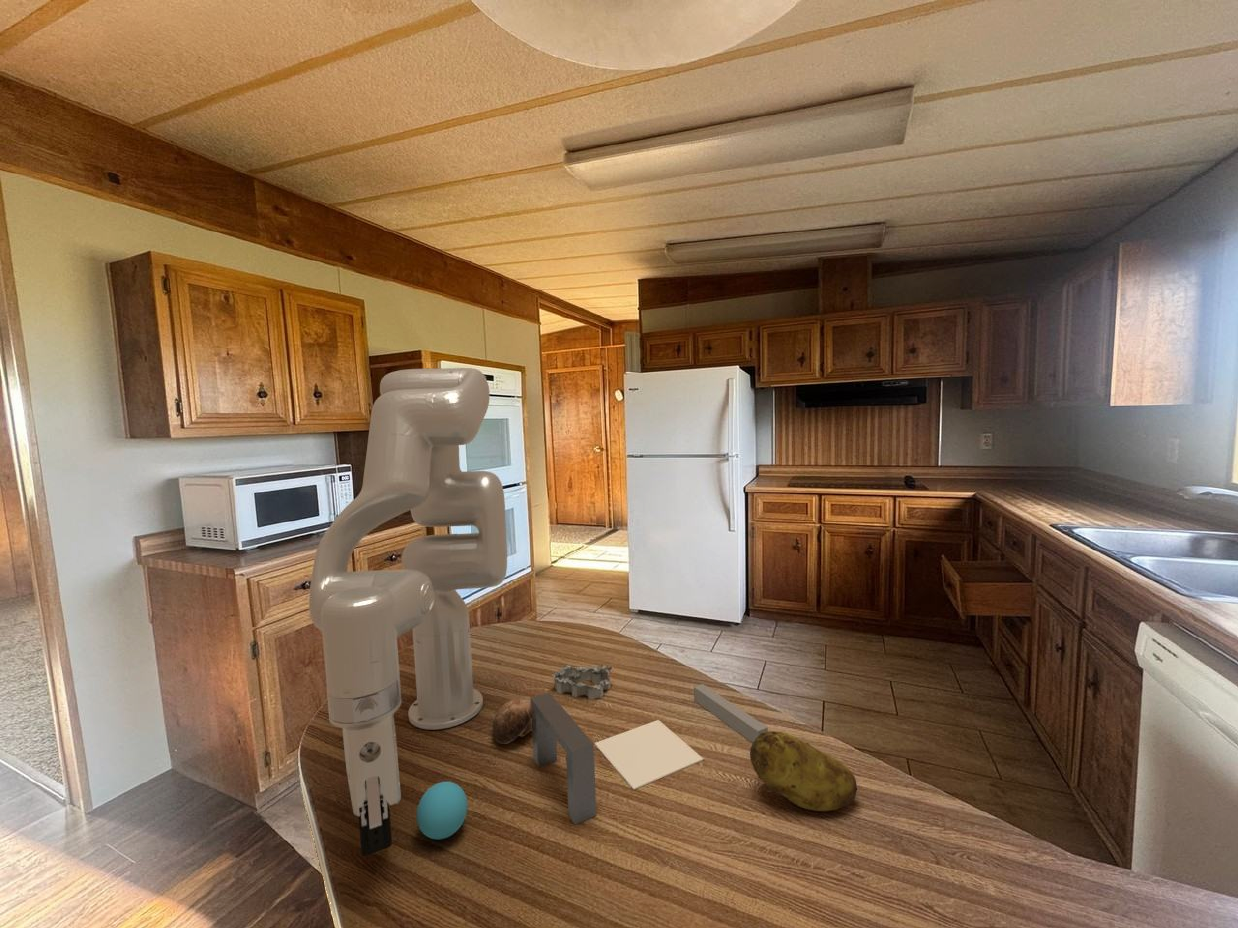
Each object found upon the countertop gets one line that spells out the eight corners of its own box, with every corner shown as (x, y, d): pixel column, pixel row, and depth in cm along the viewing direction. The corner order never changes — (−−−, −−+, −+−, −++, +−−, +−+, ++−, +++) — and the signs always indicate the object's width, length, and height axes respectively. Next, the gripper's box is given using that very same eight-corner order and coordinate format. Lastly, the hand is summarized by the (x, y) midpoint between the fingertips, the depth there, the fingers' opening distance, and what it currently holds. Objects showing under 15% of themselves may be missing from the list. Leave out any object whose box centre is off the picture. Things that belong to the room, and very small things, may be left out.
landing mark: (594, 744, 82) (594, 743, 82) (658, 720, 88) (658, 719, 88) (633, 789, 72) (633, 788, 72) (703, 759, 78) (703, 758, 78)
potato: (849, 839, 62) (849, 775, 62) (744, 800, 69) (743, 743, 68) (859, 795, 69) (859, 738, 69) (762, 764, 76) (762, 712, 75)
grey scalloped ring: (615, 686, 101) (614, 666, 100) (596, 705, 94) (596, 683, 94) (569, 675, 105) (568, 656, 105) (548, 692, 99) (548, 672, 99)
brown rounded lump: (554, 708, 87) (530, 683, 86) (534, 752, 80) (507, 725, 79) (524, 718, 91) (500, 694, 90) (502, 761, 84) (476, 736, 83)
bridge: (574, 824, 66) (571, 751, 65) (533, 759, 79) (530, 697, 78) (596, 815, 67) (593, 743, 67) (552, 753, 80) (549, 692, 80)
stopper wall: (694, 700, 94) (693, 686, 94) (703, 696, 95) (702, 683, 95) (758, 746, 80) (758, 731, 80) (767, 742, 81) (767, 727, 81)
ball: (414, 826, 67) (411, 781, 66) (462, 807, 69) (460, 764, 69) (422, 859, 61) (419, 811, 61) (474, 838, 64) (471, 792, 64)
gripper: (408, 719, 55) (419, 881, 57) (394, 663, 68) (404, 796, 70) (326, 741, 52) (341, 913, 53) (329, 678, 65) (340, 817, 66)
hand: (376, 846), depth 62 cm, fingers closed
